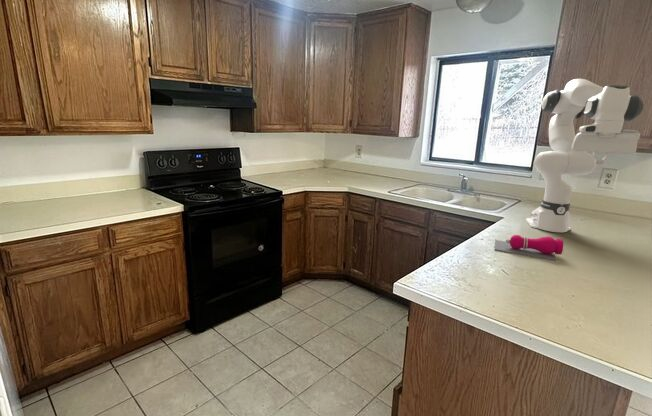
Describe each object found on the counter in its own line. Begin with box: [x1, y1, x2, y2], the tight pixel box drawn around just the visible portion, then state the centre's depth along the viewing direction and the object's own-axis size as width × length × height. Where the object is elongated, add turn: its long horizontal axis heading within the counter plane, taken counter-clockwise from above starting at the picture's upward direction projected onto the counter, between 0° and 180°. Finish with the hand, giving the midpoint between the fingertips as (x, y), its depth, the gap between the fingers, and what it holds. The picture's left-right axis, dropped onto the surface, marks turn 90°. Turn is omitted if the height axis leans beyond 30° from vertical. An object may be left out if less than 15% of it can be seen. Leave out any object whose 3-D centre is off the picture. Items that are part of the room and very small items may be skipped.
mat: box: [494, 239, 557, 262], centre depth 147 cm, size 22×13×1 cm, turn 64°
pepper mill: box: [505, 234, 564, 255], centre depth 144 cm, size 7×7×20 cm
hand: (598, 164), depth 139 cm, fingers closed
